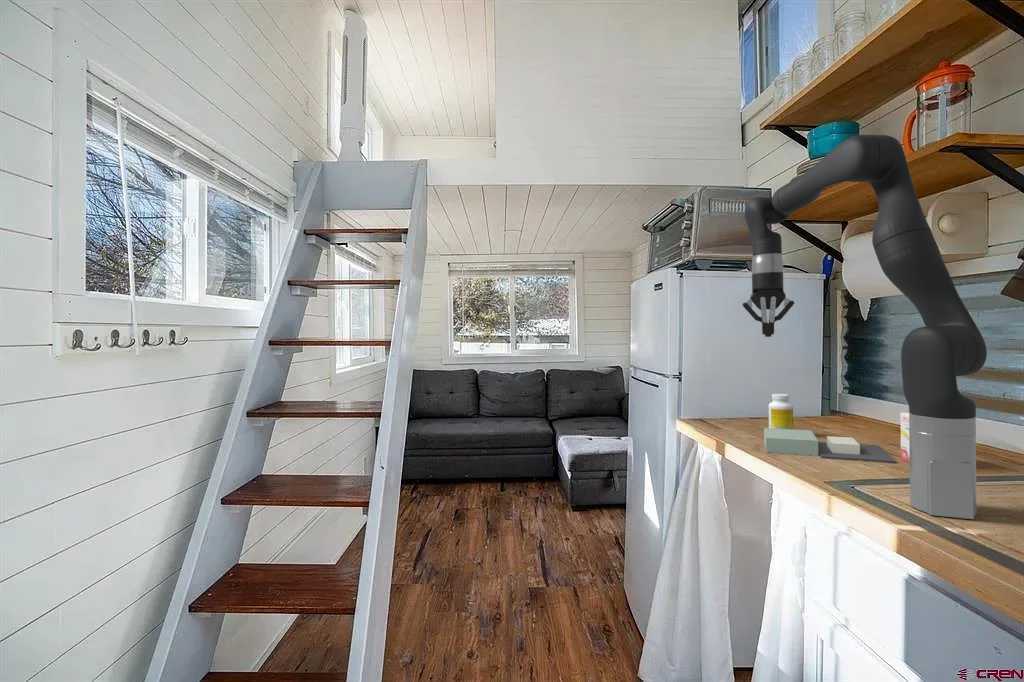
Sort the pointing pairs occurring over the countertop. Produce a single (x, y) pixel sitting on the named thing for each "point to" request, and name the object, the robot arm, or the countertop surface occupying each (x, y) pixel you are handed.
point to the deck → (790, 441)
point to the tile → (843, 445)
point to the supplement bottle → (780, 412)
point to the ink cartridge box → (905, 436)
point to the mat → (866, 453)
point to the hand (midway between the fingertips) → (768, 336)
